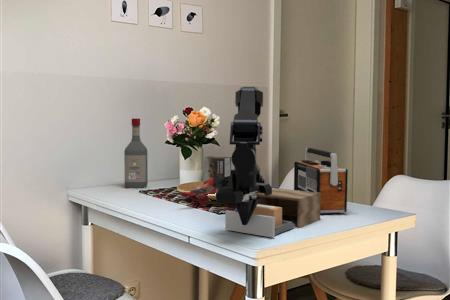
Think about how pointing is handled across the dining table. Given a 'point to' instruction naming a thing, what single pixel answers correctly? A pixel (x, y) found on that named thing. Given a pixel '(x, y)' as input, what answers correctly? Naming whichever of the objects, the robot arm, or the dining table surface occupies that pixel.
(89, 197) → the dining table surface
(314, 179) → the radio cassette player
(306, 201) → the box
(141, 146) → the liquor
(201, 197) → the decorative bird figurine
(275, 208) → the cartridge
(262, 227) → the tray
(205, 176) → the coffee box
